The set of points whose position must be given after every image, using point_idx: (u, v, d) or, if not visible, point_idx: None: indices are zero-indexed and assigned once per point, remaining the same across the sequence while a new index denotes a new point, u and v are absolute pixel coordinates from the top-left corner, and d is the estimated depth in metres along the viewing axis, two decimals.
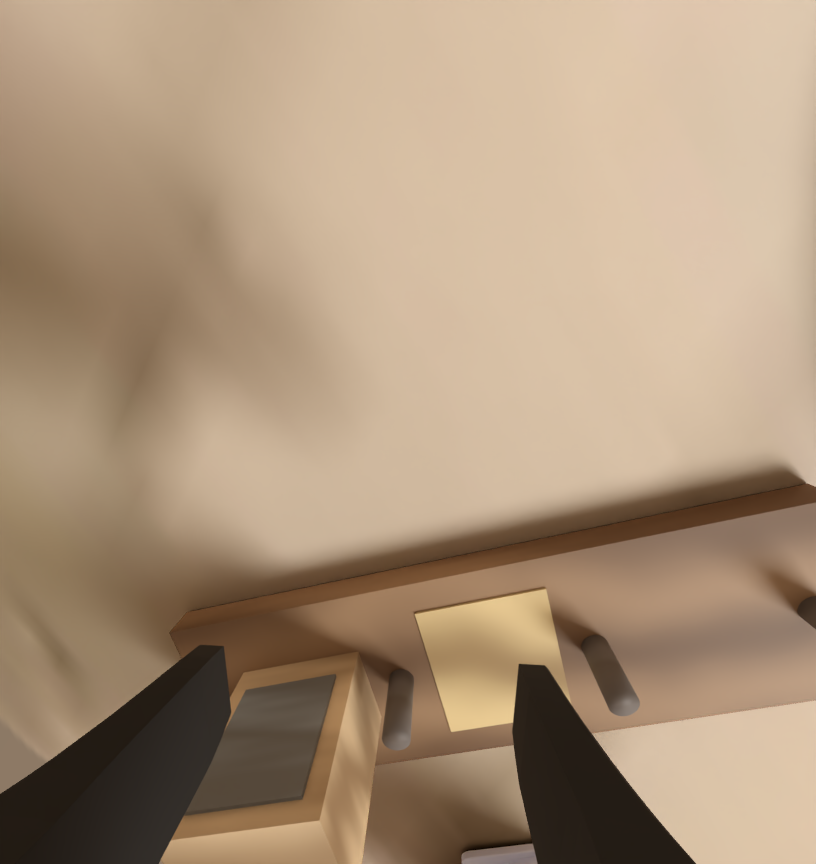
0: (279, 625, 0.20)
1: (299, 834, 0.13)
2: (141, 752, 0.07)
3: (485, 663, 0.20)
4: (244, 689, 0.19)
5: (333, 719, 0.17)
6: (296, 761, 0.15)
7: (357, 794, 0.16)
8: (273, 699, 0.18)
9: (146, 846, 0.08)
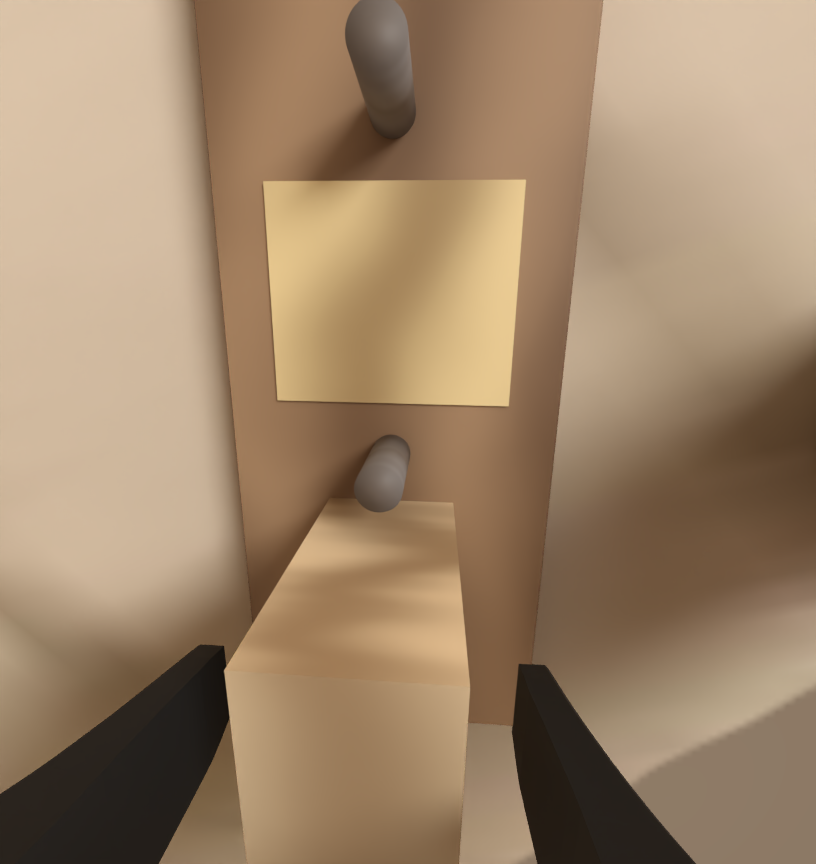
0: (270, 582, 0.15)
1: (256, 714, 0.07)
2: (140, 752, 0.07)
3: (385, 315, 0.12)
4: None
5: None
6: None
7: (396, 585, 0.09)
8: None
9: (146, 846, 0.08)
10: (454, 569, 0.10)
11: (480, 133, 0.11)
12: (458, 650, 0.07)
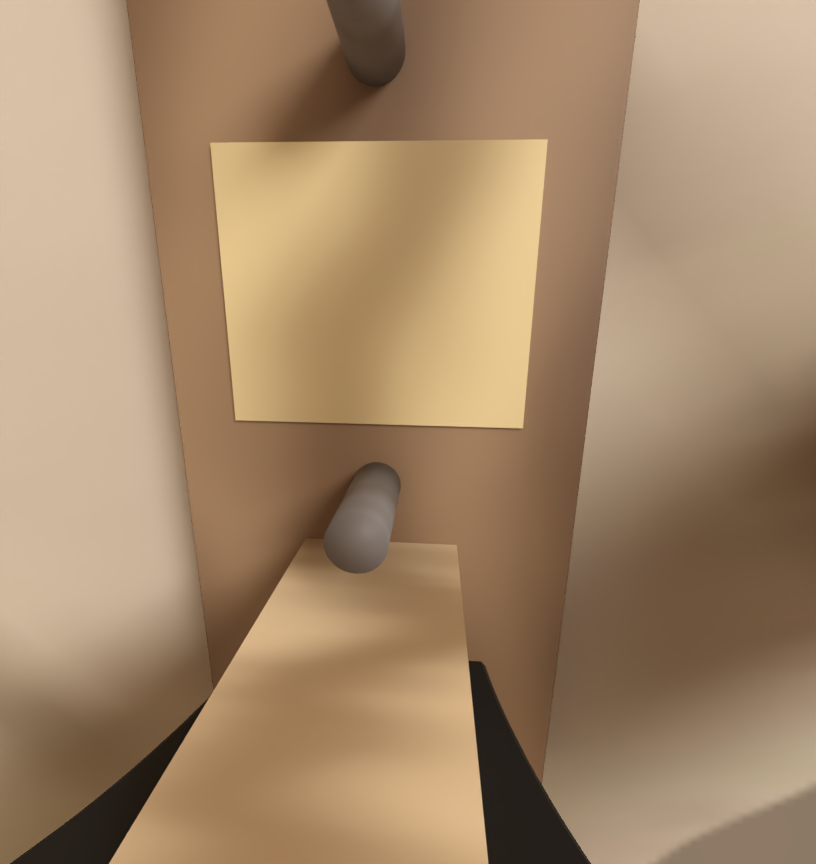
0: (232, 637, 0.12)
1: None
2: None
3: (368, 314, 0.09)
4: None
5: None
6: None
7: (382, 686, 0.07)
8: None
9: None
10: (461, 655, 0.07)
11: (489, 79, 0.08)
12: (471, 820, 0.05)
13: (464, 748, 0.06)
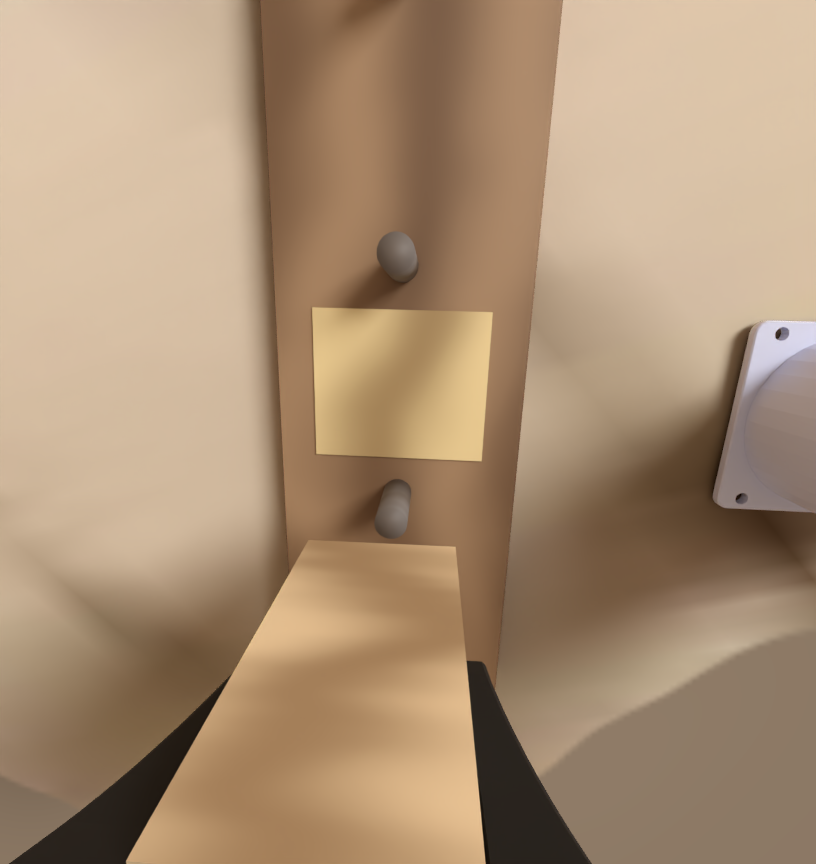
0: None
1: None
2: None
3: (395, 397, 0.17)
4: None
5: None
6: None
7: (384, 685, 0.07)
8: None
9: None
10: (459, 655, 0.08)
11: (462, 281, 0.16)
12: (469, 812, 0.05)
13: (462, 744, 0.06)
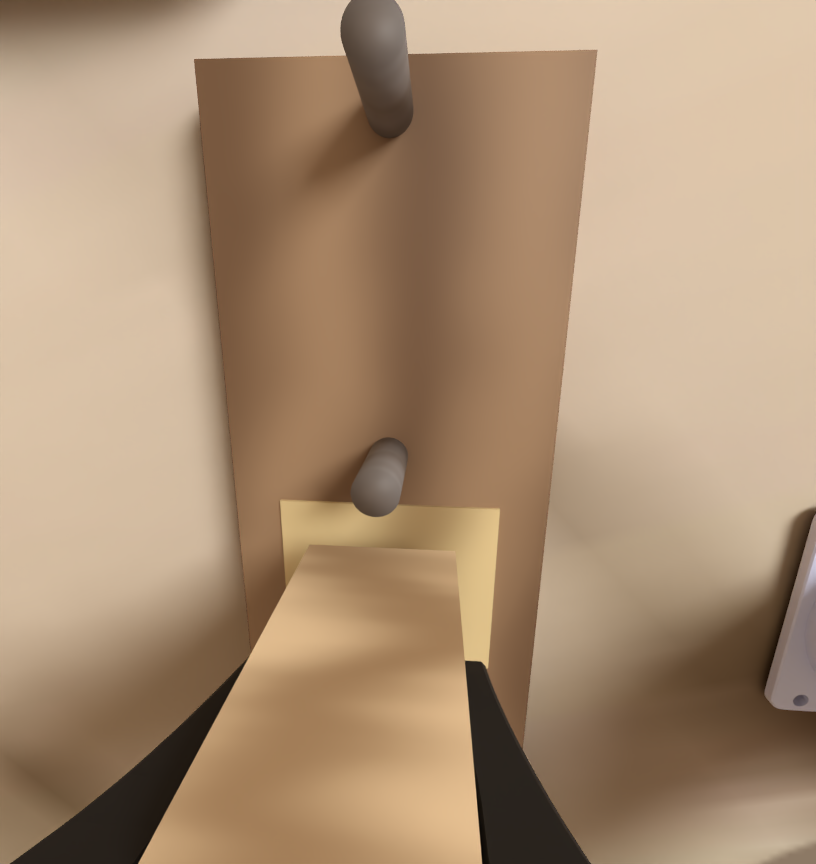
0: None
1: None
2: None
3: None
4: None
5: None
6: None
7: (384, 695, 0.07)
8: None
9: None
10: (458, 664, 0.08)
11: (461, 473, 0.13)
12: (467, 824, 0.05)
13: (461, 756, 0.06)
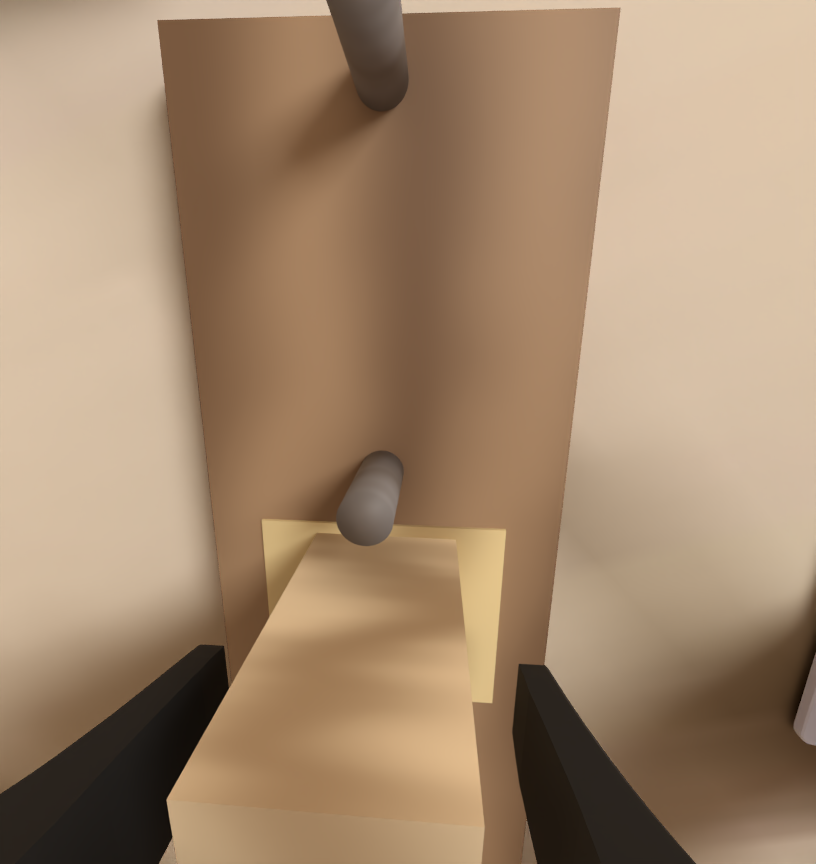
0: None
1: (210, 850, 0.05)
2: (140, 752, 0.07)
3: None
4: None
5: None
6: None
7: (391, 659, 0.08)
8: None
9: (146, 846, 0.08)
10: (459, 634, 0.08)
11: (463, 491, 0.12)
12: (467, 763, 0.06)
13: (462, 708, 0.07)
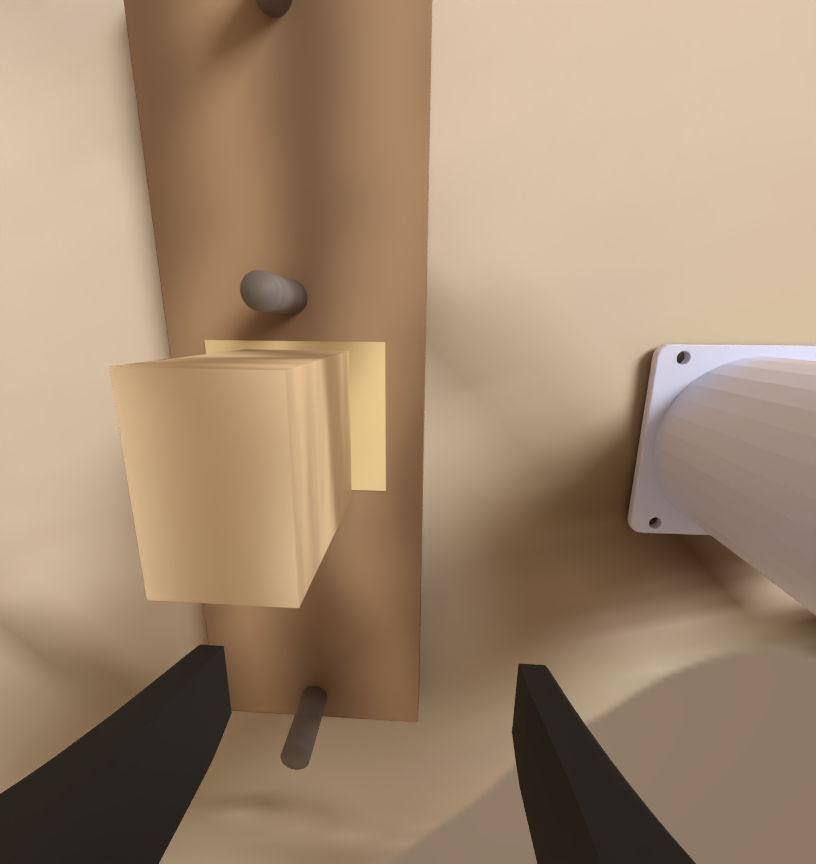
0: (220, 615, 0.19)
1: (135, 404, 0.09)
2: (141, 752, 0.07)
3: None
4: None
5: None
6: None
7: (267, 360, 0.12)
8: None
9: (146, 846, 0.08)
10: (319, 358, 0.12)
11: (352, 311, 0.16)
12: (290, 367, 0.10)
13: (299, 362, 0.11)
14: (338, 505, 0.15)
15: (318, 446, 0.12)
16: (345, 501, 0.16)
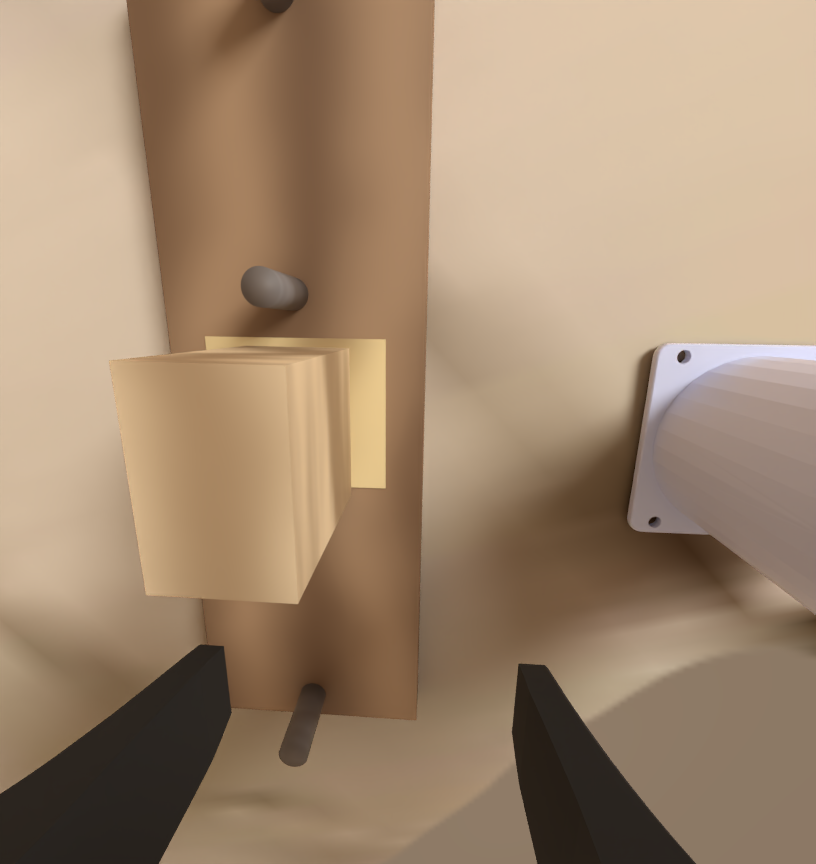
0: (219, 612, 0.19)
1: (135, 398, 0.09)
2: (141, 752, 0.07)
3: None
4: None
5: None
6: None
7: (267, 355, 0.12)
8: None
9: (146, 846, 0.08)
10: (319, 355, 0.12)
11: (353, 308, 0.16)
12: (290, 362, 0.10)
13: (299, 358, 0.11)
14: (338, 502, 0.15)
15: (318, 443, 0.12)
16: (345, 498, 0.16)
